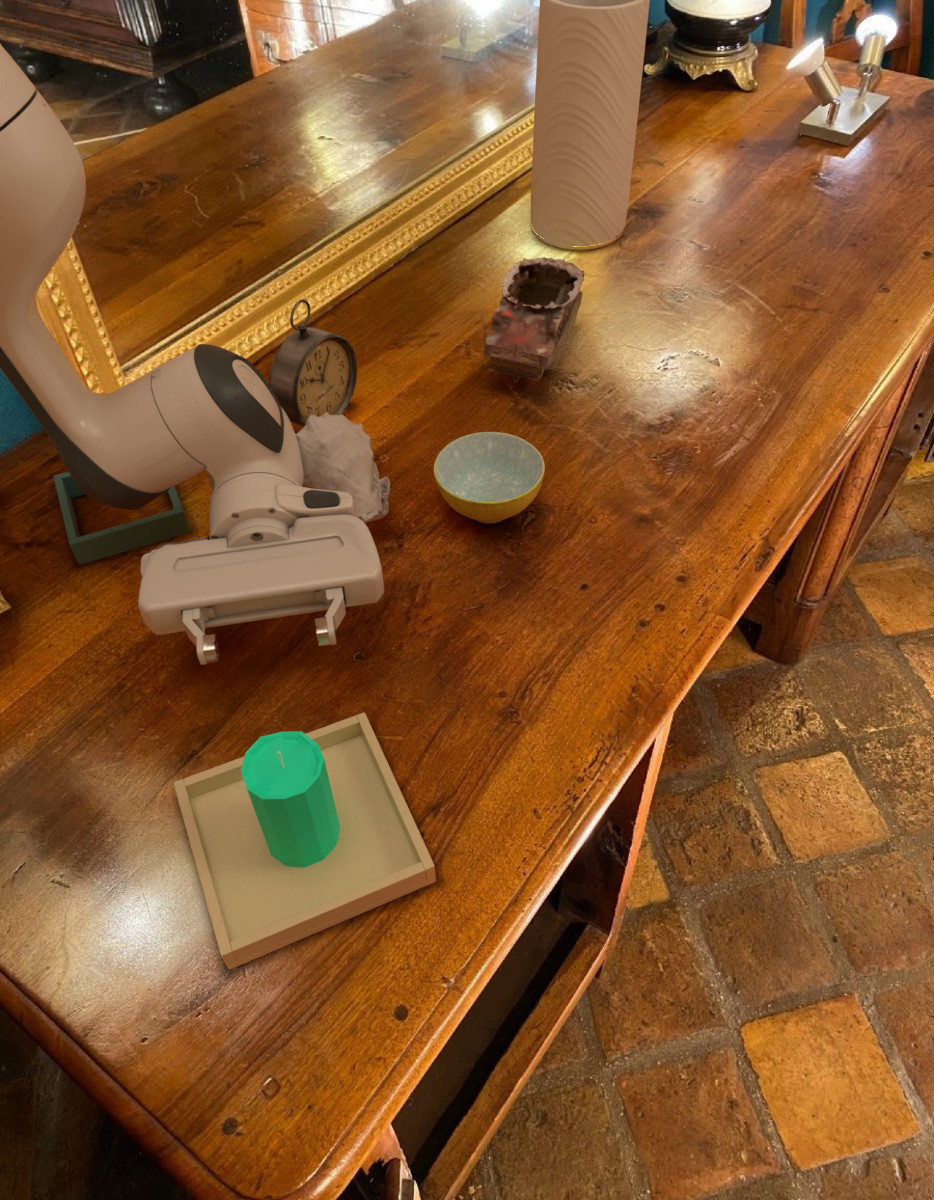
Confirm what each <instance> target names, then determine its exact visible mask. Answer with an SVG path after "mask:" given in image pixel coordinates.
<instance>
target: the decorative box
mask: <svg viewBox="0 0 934 1200" xmlns="http://www.w3.org/2000/svg"><path fill="white" fill-rule="evenodd" d="M580 269H581V268H579V267H578V266H577V265H575V264H574V263H572V262H569V261H566V260H564V259H561V258H557V259H556V258H553V257H545V256H543V257H536V258H530V259H528V258H525V257H523V259H522V260H520V261H517V262H515V263H514V264H512V265H510V268H509V271H507V272H506V275H504V276H503V281H501V284H502V285H501V295H502V297H501V300H500V301H499V305H498V308H496V309H495V310H494V312H493V313H492V317H491V323H490V330H488V332H487V333H486V334H485V336H486V337H485V339H484V347H483V353H482V354H483V355H484V356H486V357H489V358H490V361H492V364H493V367H494V369H495V372H497V373H499V374H504V375H507V376H512V381H513V382H514V383H518V382H519V380H520V379H521V378H522V379H527V380H531V381H539V380H541V378H542V377H543V375H544V372H548V373H553V372H554V371H555V369H556V368H557V365H558V362H559V360H560V358H561V355H562V353H563V350H564V349H565V347H566V343H567V341H568V339H569V336H570V334H571V332H572V330H573V328H574V326H575V325H574V324H575V323H576V320H577V316H578V313H579V311H580V307H581V304H582V299H583V291H581V287H582V286H583V283H584V278H585V270H580Z"/></svg>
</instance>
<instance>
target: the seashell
mask: <svg viewBox="0 0 934 1200" xmlns="http://www.w3.org/2000/svg"><path fill="white" fill-rule="evenodd" d="M295 435H296V438H297V441H298V445H299V449H300V454H301V459H302V465H303V474H304V481H303V487H306V488H312V489H320V490H329V491H341V492H347V493H349V494H350V495H351V496H352V498H353V501H354V504H355V507H356V511H357V515H358V518H359V519H361V520H362V521H363V522H364V523H365V524H366V525H367V524H369V523H371V522H374V521H376V520H381V519H383V518H385V517H386V516H387V515H388V513H389V511H390V504H389V503H390V502H389V500H388V499H389V498H390V495H391V482H390V480H389V479H390V478H389V477H388V476H387V475H386V476H384V477H382V478H380V473H379V470H378V466H377V464H376V462H375V461H374V458H375V454H374V452H373V450H372V446H371V445H372V444H371V441H372V437H371V436H370V435H369V434H368V433H366V432H365V431H364V426H363V424H362V423H357V424H356V423H354V422H353V421H351V420H349V419H348V418H347V417H346V416H345V415H344V414H342V415H329V414H328V413H327V412H326V413H324V414H323V415H322V416H320V417H316V416H315V415H310V416H309V417H308V419H307V422H306V425H305V426H304V428H303V427H301V429H300V430H299V431H298V432H297V433H295Z"/></svg>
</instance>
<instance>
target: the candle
mask: <svg viewBox="0 0 934 1200" xmlns="http://www.w3.org/2000/svg"><path fill="white" fill-rule="evenodd" d="M244 756H245V758H244V761H243V765H242V768H241V773H242V776H243V779H244V782H245V785H246V788H247V791H248V793H249V796H250V799H251V802H252V804H253V807H254V810H255V813H256V815H257V818H258V821H259V824H260V826H261V829H262V832H263V835H264V837H265V840H266V843H267V845H268V848H269V851H270V854H271V855H272V856H273V857H274V858H276V859H277V860H278V861H280V862H281V863H282V864H284V865H285V866H294V867H307V866H310V865H312V864H315V863H317V862H320V861H322V860H324V859H325V858H326V857H327V855H328V854H329V853H330V852H331V851H332V850H333V849H334V847H335V846H336V845H337V841H338V836H339V831H340V824H339V820H338V815H337V811H336V807H335V802H334V798H333V794H332V790H331V785H330V781H329V777H328V773H327V768H326V764H325V760H324V757H323V754H322V752H321V750H320V748H319V745H318V744H317V743H316V742H315V741H313V740H312V739H311V738H310V737H308V736H307V735H306V733H305V732H304V731H301V730H298V731H297V730H295V731H278V732H275V733H274V732H273V733H271V734H265V735H262V736H259V738H258V739H257V740H256V741H255V742H254V743H253V744H252V745H251V746H250V747H249V748H248V749H247V750H246V752H245V753H244Z"/></svg>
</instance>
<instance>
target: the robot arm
mask: <svg viewBox="0 0 934 1200" xmlns="http://www.w3.org/2000/svg"><path fill="white" fill-rule="evenodd" d="M86 180H87V179H86V173H85V167H84V163H83V158H82V156H81V154H80V152H79V149H78V148H77V146H76V144H75V143H74V141H73V139H72V137H71V136H70V133H68V131H67V129H66V127H65V126H64V125H63V123H62V122H61V120H60V118H59V117H58V116H57V114H56V113H55V111H54V110H53V109H52V107H51V106H50V105H49V104H48V102H47V101H46V99H45V98H44V96H43V95H42V94H41V92H40V91H39V90H38V89H37V88H36V86H35V84H34V83H33V82H32V81H31V80H30V79H29V77H28V76H27V75H26V73H25V72H24V71H23V70H22V68H21V67H20V65H19V64H18V63H17V62H16V61H15V60H14V58H13V57H12V56H11V55H10V53H8V51H7V50H6V49H5V47H3V46H2V44H1V43H0V370H1V372H2V373H3V374H4V376H5V377H6V379H7V380H8V382H9V383H10V384H11V386H12V387H13V388H14V390H15V391H16V393H17V394H18V396H19V397H20V398H21V399H22V401H23V402H24V403H25V405H26V406H27V407H28V409H29V410H30V411H31V413H32V414H33V416H34V417H35V419H36V420H37V421H38V423H39V424H40V426H41V427H42V428H43V430H44V431H45V433H46V434H47V435H48V437H49V438H50V440H51V442H52V444H53V446H54V447H55V449H56V451H57V453H58V455H59V457H60V459H61V461H62V463H63V464H64V466H65V468H66V470H67V472H69V473H70V475H71V476H72V478H73V480H74V481H75V482H76V484H77V485H78V487H79V488H80V489H81V490H82V491H83V492H84V493H85V496H87V497H88V498H90V499H92V500H93V501H95V502H98V503H100V504H102V505H105V506H109V507H111V508H115V509H119V510H125V511H137V510H141V509H142V508H143V507H145V506H147V505H149V503H151V502H153V501H154V500H156V499H158V498H159V497H161V496H162V495H164V494H166V493H168V490H169V489H170V488H171V487H173V486H175V487H176V486H177V485H179V484H181V483H183V482H185V481H187V480H189V479H190V478H193V477H194V476H197V475H199V474H201V473H203V472H205V471H206V472H207V473H208V482H209V486H210V489H211V495H210V499H209V504H208V508H209V509H208V518H209V522H208V523H209V527H208V529H209V531H208V532H209V535H208V536H204V537H196V538H190V539H186V540H181V541H175V542H174V541H168V542H167V541H166V542H162V543H160V544H158V545H157V548H154V549H152V550H149V551H148V552H147V553H144V554H143V555H142V556H141V560H140V571H139V572H140V573H139V575H140V578H141V581H140V586H139V591H138V598H137V605H138V610H139V614H140V615H141V618H142V621H143V623H144V625H145V626H146V628H147V629H148V630H150V631H151V632H152V633H153V634H154V635H158V636H160V635H161V636H162V635H169V634H176V633H182V632H186V635H187V637H188V639H189V640H190V641H191V643H192V644H193V645H194V646H195V647H196V655H197V659H198V661H199V665H200V666H204V665H209V664H214V663H220V659H221V658H220V645H219V642H218V641H217V636H216V634H215V633H212V634H206V629H208V628H209V629H210V628H217V627H223V626H230V625H237V624H242V623H243V624H244V623H249V622H255V621H263V620H270V619H276V618H277V619H278V618H283V617H284V618H285V617H289V616H295V615H303V614H311V613H316V612H324V611H326V613H325V615H324V617H318V618H314V626H315V634H316V640H317V644H318V647H319V648H320V647H328V646H335V645H337V636H336V631H337V630H338V628H339V626H340V624H341V623H342V621H343V620H344V617H346V615H347V611H346V608H350V607H357V606H358V607H359V606H364V605H371V604H372V605H373V604H376V603H378V601H380V599H382V596H383V595H384V593H385V583H384V576H383V569H382V563H381V560H380V556H379V552H378V549H377V546H376V542H375V541H374V538H373V535H372V533H371V531H370V529H369V527H368V525H367V523H366V524H365V523H364V522H363V521H362V520H361V519H359V518H358V515H357V511H356V507H355V504H354V501H353V498H352V496H351V495H350V494H349V493H347V492H341V491H329V490H320V489H312V488H306V487H303V481H304V474H303V465H302V459H301V454H300V449H299V445H298V441H297V438H296V435H295V434H296V433H295V430H294V427H293V424H292V422H290V420H289V418H288V416H287V414H286V413H285V411H284V410H283V409H282V407H281V406H280V403H279V401H278V399H277V397H276V395H275V394H274V392H273V390H272V389H271V387H270V385H269V381H267V379H266V378H265V377H264V376H263V375H262V373H261V372H260V371H259V370H258V369H257V367H256V366H255V365H254V364H252V363H251V361H249V360H248V359H247V358H245V357H244V356H241V355H239V354H237V353H236V352H233V351H231V350H229V349H227V348H223V347H221V346H217V345H214V344H206V343H199V344H198V345H196V346H194V347H192V348H190V349H188V350H185V351H184V352H182V353H180V354H178V355H177V356H174V357H173V358H171V359H169V360H167V361H165V362H163V363H160V364H159V365H158V366H155V367H154V368H153V369H152V370H150V371H148V372H147V373H145V374H143V375H141V376H139V377H138V378H136V379H134V380H132V381H130V382H128V383H127V384H125V385H122V386H121V387H119V388H117V389H115V390H114V391H112V392H108V393H98V392H95V391H92V390H90V389H89V388H88V387H87V385H86V384H85V383H84V381H83V379H82V378H81V377H80V375H79V374H78V372H77V371H76V369H75V368H74V366H73V364H72V363H71V362H70V360H69V358H68V357H67V356H66V354H65V353H64V351H63V349H62V348H61V346H60V345H59V344H58V342H57V340H56V339H55V337H54V336H53V335H52V333H51V332H50V330H49V328H48V327H47V326H46V324H45V322H44V321H43V319H42V317H41V314H40V312H39V309H38V304H37V303H38V302H37V295H38V291H39V289H40V287H41V286H42V284H43V282H44V280H46V278H47V276H48V275H49V273H50V272H51V270H52V269H53V267H54V266H55V264H56V263H57V261H58V260H59V259H60V257H61V256H62V254H63V253H64V251H65V250H66V248H67V247H68V244H69V243H70V241H71V239H72V237H73V235H74V233H75V231H76V229H77V227H78V226H79V225H78V224H79V222H80V219H81V218H82V214H83V210H84V207H85V202H86V194H87V193H86V192H87V181H86Z"/></svg>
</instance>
